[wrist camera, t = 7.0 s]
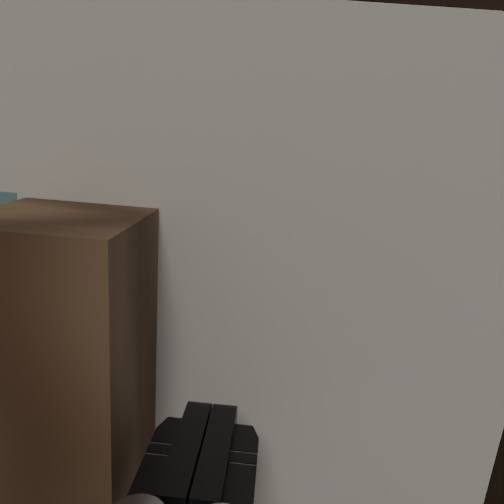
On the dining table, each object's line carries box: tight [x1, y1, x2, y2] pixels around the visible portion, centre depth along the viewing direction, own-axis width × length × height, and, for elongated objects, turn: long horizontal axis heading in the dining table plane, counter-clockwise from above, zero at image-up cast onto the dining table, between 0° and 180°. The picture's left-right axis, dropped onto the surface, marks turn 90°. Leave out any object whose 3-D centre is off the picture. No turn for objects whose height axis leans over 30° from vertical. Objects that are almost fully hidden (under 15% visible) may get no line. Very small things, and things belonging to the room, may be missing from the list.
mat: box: [0, 0, 504, 504], centre depth 15 cm, size 32×24×1 cm
